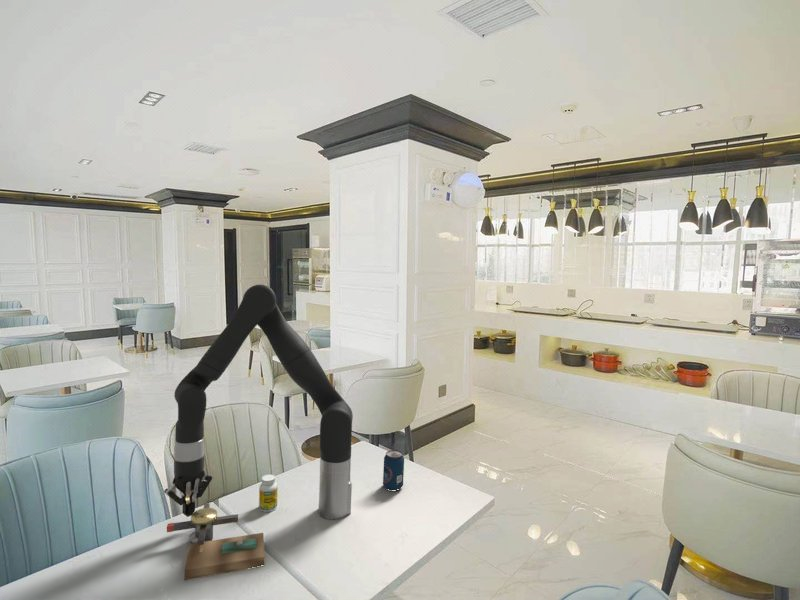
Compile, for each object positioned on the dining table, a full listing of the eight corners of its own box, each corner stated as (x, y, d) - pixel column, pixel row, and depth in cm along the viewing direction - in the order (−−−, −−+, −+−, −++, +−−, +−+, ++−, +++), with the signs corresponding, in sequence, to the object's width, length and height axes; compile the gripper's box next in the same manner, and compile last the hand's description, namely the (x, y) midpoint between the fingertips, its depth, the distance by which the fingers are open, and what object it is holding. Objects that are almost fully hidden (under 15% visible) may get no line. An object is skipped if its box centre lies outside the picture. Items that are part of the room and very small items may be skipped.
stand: (263, 541, 118) (263, 524, 118) (264, 566, 109) (264, 548, 108) (189, 553, 112) (189, 535, 112) (184, 580, 103) (184, 561, 102)
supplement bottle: (274, 501, 138) (274, 471, 137) (279, 509, 133) (280, 479, 133) (256, 505, 135) (257, 475, 134) (261, 514, 130) (262, 483, 130)
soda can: (378, 485, 150) (380, 451, 149) (395, 480, 154) (396, 447, 154) (390, 494, 145) (392, 459, 144) (407, 489, 149) (408, 455, 148)
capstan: (238, 517, 128) (238, 494, 127) (237, 554, 112) (237, 528, 112) (172, 526, 122) (172, 502, 122) (161, 566, 106) (161, 539, 106)
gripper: (204, 443, 128) (203, 500, 129) (157, 458, 117) (157, 520, 118) (219, 450, 123) (218, 509, 125) (172, 467, 112) (171, 531, 114)
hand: (188, 514), depth 121 cm, fingers closed
